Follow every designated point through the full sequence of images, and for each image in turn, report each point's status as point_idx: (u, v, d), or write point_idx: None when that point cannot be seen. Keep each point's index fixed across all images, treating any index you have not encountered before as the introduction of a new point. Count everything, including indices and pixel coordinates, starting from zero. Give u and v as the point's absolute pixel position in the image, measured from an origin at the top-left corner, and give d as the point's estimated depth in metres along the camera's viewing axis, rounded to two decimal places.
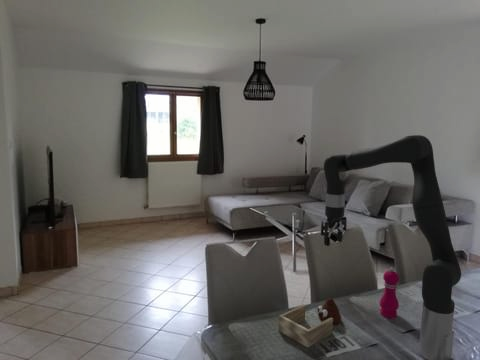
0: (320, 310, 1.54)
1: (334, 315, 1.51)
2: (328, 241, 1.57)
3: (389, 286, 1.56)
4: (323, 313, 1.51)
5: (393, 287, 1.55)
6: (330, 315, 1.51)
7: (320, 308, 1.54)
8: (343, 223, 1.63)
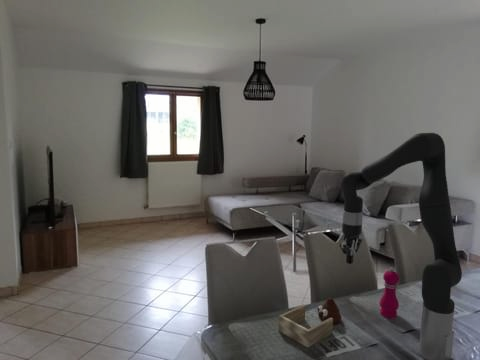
0: (320, 310, 1.54)
1: (334, 315, 1.51)
2: (350, 259, 1.58)
3: (389, 286, 1.56)
4: (323, 313, 1.52)
5: (393, 287, 1.55)
6: (330, 315, 1.51)
7: (320, 308, 1.55)
8: (357, 244, 1.61)
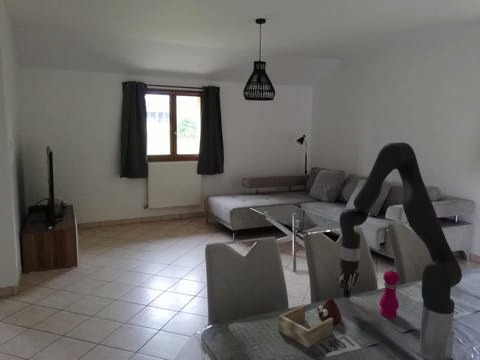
0: (320, 310, 1.54)
1: (334, 315, 1.52)
2: (348, 293, 1.61)
3: (389, 286, 1.56)
4: (323, 313, 1.52)
5: (393, 287, 1.55)
6: (330, 315, 1.52)
7: (320, 308, 1.55)
8: (354, 278, 1.63)
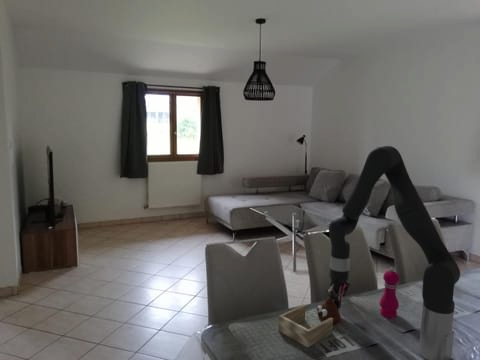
0: (319, 310, 1.54)
1: (334, 314, 1.51)
2: (338, 304, 1.57)
3: (389, 286, 1.56)
4: (323, 313, 1.52)
5: (393, 287, 1.55)
6: (330, 314, 1.51)
7: (319, 308, 1.54)
8: (344, 288, 1.59)
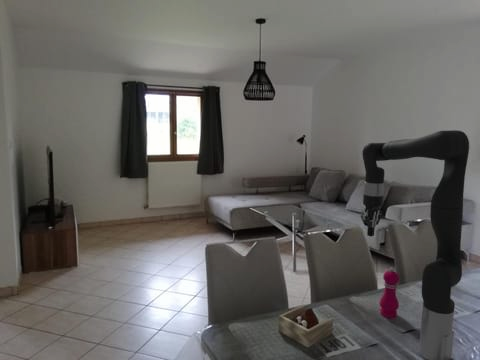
0: (299, 321, 1.46)
1: None
2: (371, 231, 1.57)
3: (389, 286, 1.56)
4: (302, 324, 1.43)
5: (393, 287, 1.55)
6: (310, 326, 1.43)
7: (299, 319, 1.46)
8: (378, 216, 1.59)
